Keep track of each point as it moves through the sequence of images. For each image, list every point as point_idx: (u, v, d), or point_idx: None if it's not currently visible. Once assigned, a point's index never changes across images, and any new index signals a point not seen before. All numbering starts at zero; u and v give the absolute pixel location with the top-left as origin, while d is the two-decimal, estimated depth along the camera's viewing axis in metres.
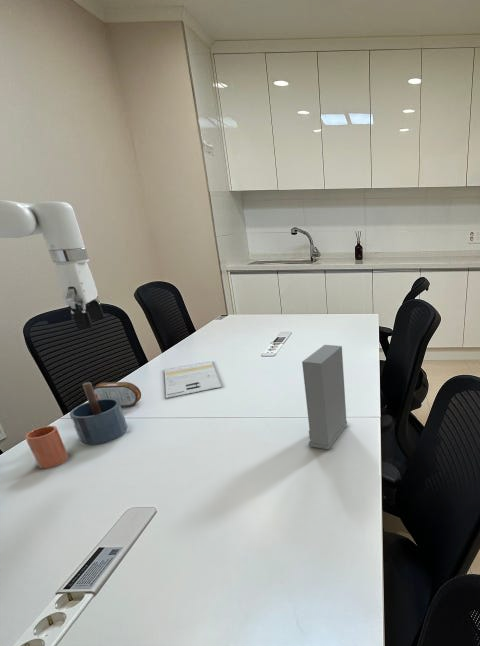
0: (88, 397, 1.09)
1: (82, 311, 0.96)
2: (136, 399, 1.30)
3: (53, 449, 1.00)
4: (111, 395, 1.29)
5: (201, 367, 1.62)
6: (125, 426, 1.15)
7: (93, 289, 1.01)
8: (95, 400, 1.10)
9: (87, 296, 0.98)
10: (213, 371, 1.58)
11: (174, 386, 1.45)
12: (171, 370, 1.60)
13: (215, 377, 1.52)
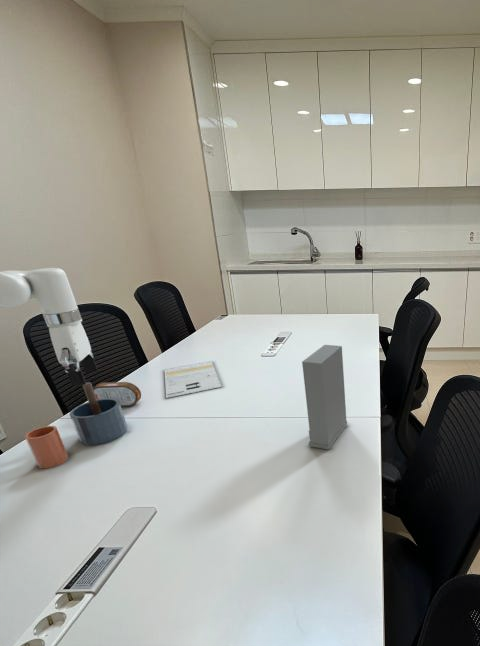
0: (88, 397, 1.09)
1: (76, 370, 1.00)
2: (136, 399, 1.30)
3: (53, 449, 1.00)
4: (111, 395, 1.29)
5: (201, 367, 1.62)
6: (125, 426, 1.15)
7: (86, 346, 1.06)
8: (95, 400, 1.10)
9: (80, 354, 1.02)
10: (213, 371, 1.58)
11: (174, 386, 1.45)
12: (171, 370, 1.60)
13: (215, 377, 1.52)
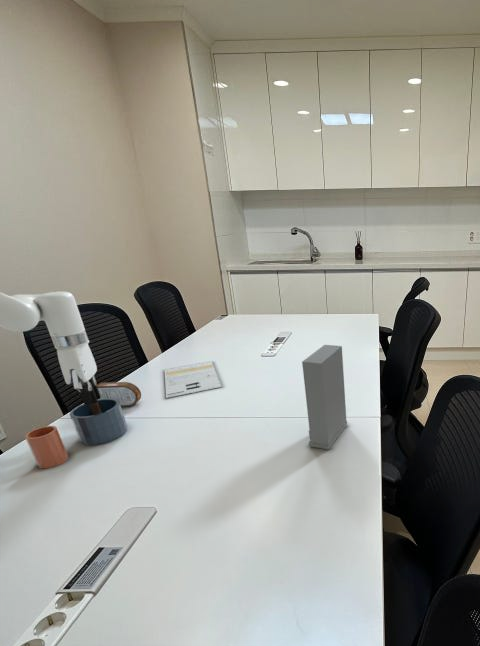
0: None
1: (88, 390, 1.06)
2: (136, 399, 1.30)
3: (53, 449, 1.00)
4: (111, 395, 1.29)
5: (201, 367, 1.62)
6: (125, 426, 1.15)
7: (92, 366, 1.08)
8: None
9: (87, 375, 1.04)
10: (213, 371, 1.58)
11: (174, 386, 1.45)
12: (171, 370, 1.60)
13: (215, 377, 1.52)
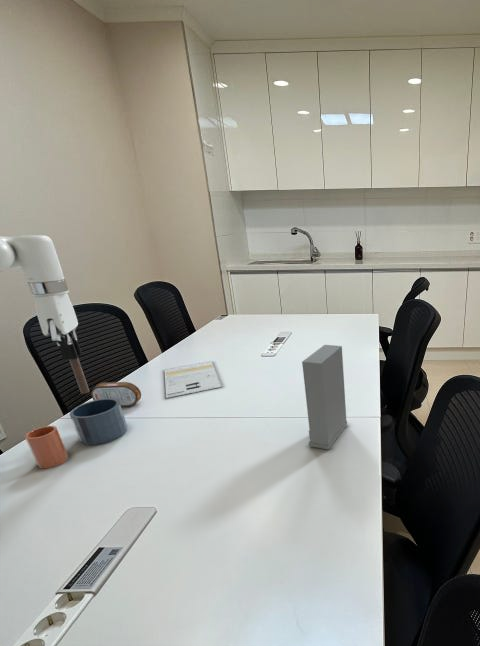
0: None
1: (68, 343, 1.00)
2: (136, 399, 1.30)
3: (53, 449, 1.00)
4: (111, 395, 1.29)
5: (201, 367, 1.62)
6: (125, 426, 1.15)
7: (73, 319, 1.02)
8: None
9: (66, 327, 0.98)
10: (213, 371, 1.58)
11: (174, 386, 1.45)
12: (171, 370, 1.60)
13: (215, 377, 1.52)
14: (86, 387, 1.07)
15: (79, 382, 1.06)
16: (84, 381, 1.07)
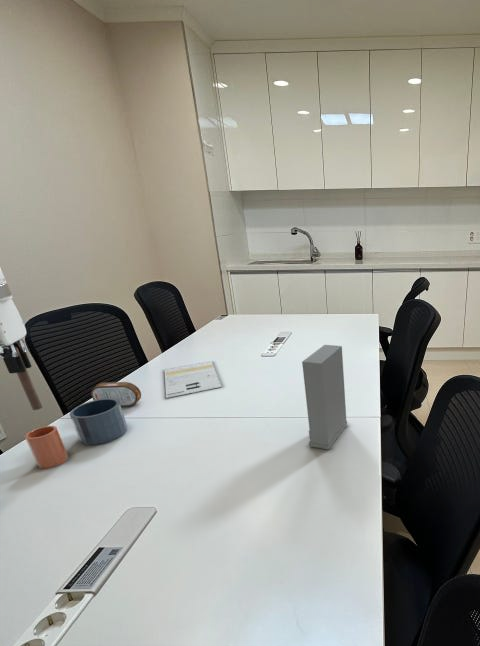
0: None
1: (13, 355, 0.90)
2: (136, 399, 1.30)
3: (53, 449, 1.00)
4: (111, 395, 1.29)
5: (201, 367, 1.62)
6: (125, 426, 1.15)
7: (19, 328, 0.91)
8: None
9: (9, 337, 0.87)
10: (213, 371, 1.58)
11: (174, 386, 1.45)
12: (171, 370, 1.60)
13: (215, 377, 1.52)
14: (38, 403, 0.97)
15: (29, 397, 0.95)
16: (35, 396, 0.96)
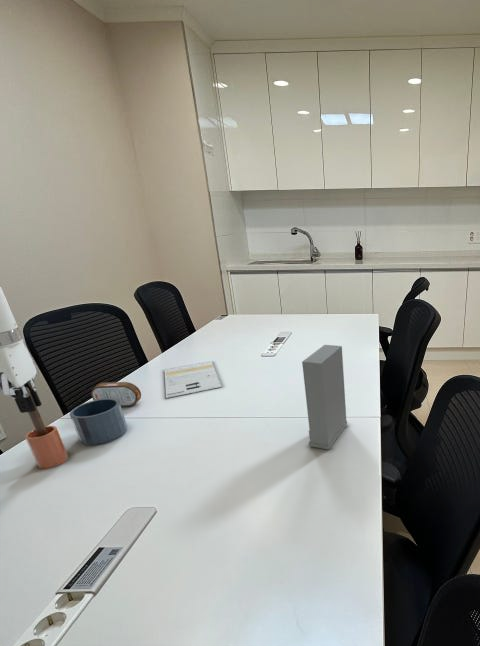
0: None
1: (24, 396, 0.93)
2: (136, 399, 1.30)
3: (53, 449, 1.00)
4: (111, 395, 1.29)
5: (201, 367, 1.62)
6: (125, 426, 1.15)
7: (29, 368, 0.94)
8: None
9: (20, 379, 0.90)
10: (213, 371, 1.58)
11: (174, 386, 1.45)
12: (171, 370, 1.60)
13: (215, 377, 1.52)
14: None
15: (39, 434, 0.98)
16: (45, 433, 0.99)
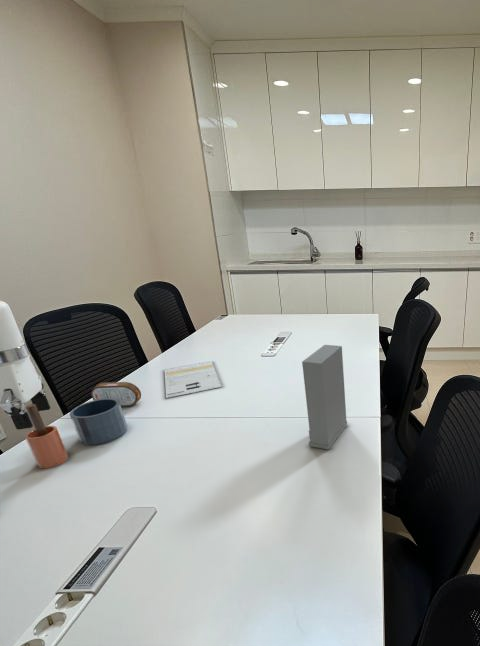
0: (33, 421, 0.97)
1: (20, 413, 0.91)
2: (136, 399, 1.30)
3: (53, 449, 1.00)
4: (111, 395, 1.29)
5: (201, 367, 1.62)
6: (125, 426, 1.15)
7: (35, 384, 0.96)
8: (41, 424, 0.98)
9: (26, 395, 0.92)
10: (213, 371, 1.58)
11: (174, 386, 1.45)
12: (171, 370, 1.60)
13: (215, 377, 1.52)
14: None
15: None
16: None
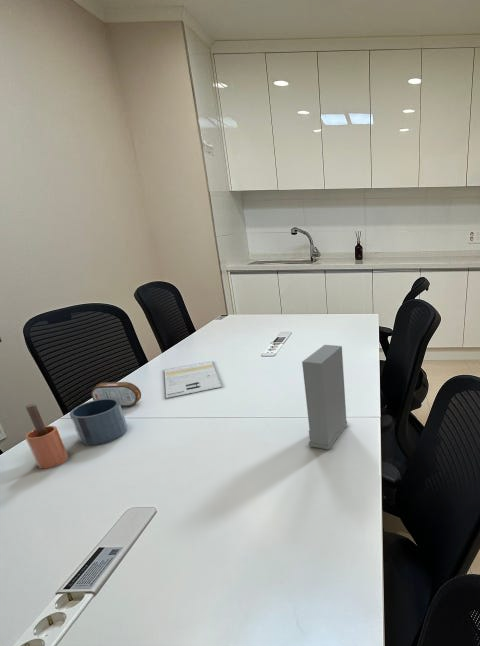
0: (33, 421, 0.97)
1: None
2: (136, 399, 1.30)
3: (53, 449, 1.00)
4: (111, 395, 1.29)
5: (201, 367, 1.62)
6: (125, 426, 1.15)
7: None
8: (41, 424, 0.98)
9: None
10: (213, 371, 1.58)
11: (174, 386, 1.45)
12: (171, 370, 1.60)
13: (215, 377, 1.52)
14: None
15: None
16: None
